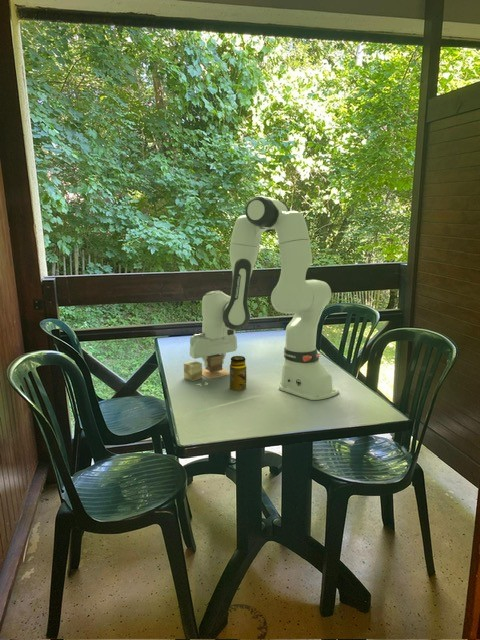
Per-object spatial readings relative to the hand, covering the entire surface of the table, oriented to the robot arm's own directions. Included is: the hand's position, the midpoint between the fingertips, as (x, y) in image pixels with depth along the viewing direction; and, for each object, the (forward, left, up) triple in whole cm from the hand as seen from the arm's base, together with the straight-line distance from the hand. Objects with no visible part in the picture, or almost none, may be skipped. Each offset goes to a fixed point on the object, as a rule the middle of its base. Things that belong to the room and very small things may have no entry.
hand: (214, 365), depth 174 cm
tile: (-9, +10, -4) cm, 14 cm away
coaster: (0, 0, -4) cm, 4 cm away
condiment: (-19, +2, -4) cm, 20 cm away
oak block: (-1, +10, -3) cm, 11 cm away
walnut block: (0, 0, -2) cm, 2 cm away
